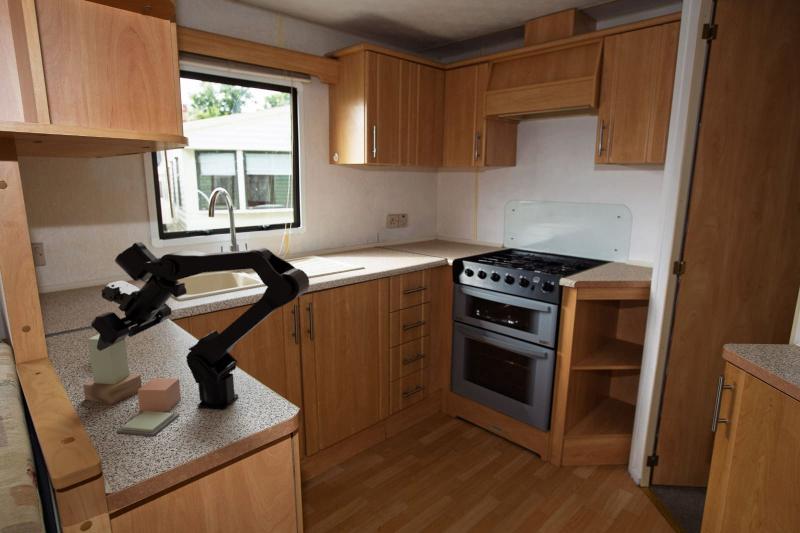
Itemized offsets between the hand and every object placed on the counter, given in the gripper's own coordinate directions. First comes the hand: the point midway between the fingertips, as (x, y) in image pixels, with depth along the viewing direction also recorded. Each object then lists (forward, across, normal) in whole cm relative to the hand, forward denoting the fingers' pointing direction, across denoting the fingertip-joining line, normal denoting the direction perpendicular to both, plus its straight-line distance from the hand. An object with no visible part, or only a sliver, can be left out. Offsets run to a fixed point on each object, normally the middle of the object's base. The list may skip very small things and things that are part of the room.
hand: (114, 342), depth 107 cm
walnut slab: (+11, 0, +8) cm, 13 cm away
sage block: (+8, 0, +5) cm, 9 cm away
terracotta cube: (+1, +3, +18) cm, 18 cm away
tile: (-2, +11, +20) cm, 23 cm away
